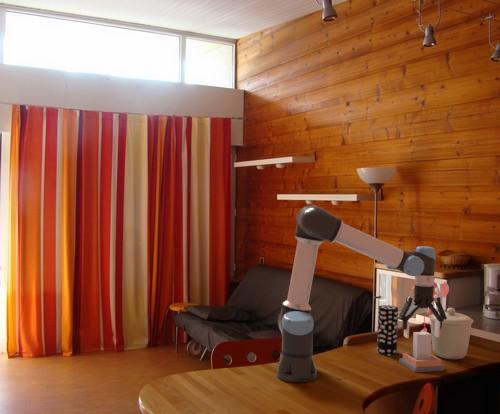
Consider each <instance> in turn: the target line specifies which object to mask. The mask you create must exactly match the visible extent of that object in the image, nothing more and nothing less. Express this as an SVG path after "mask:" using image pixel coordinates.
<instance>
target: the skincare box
mask: <svg viewBox="0 0 500 414" xmlns="http://www.w3.org/2000/svg"><path fill="white" fill-rule="evenodd" d="M412 337H413V339H412V341H413V342H412V352H413V358H414V359H416V360H431V354H432V351H431V350H432V336H431V332H430V333H429V332H428V331H427V332H421V331H416V332H415V331H413V334H412Z"/></svg>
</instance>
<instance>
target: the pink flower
mask: <svg viewBox="0 0 500 414" xmlns="http://www.w3.org/2000/svg"><path fill="white" fill-rule="evenodd" d="M432 286H433V287H434V294H433V297H435V296H438V297H440V298H441V297H442V298H446V297H447V295H448V294H449V292H450V287H449V284H448V283H446V282H445V281H444V282H443V283H442V284H441V286H440V293H441V294H439V293H437V292H436V291H435V289H436V288H438V283H437V282H436V281H435V277H434V285H432ZM410 290H411V291H412V290H414V286H413V287H412V288H411V289H410ZM432 314H433V313H432V312H431V310H430V309H429V308H428V310H427V313H425V314H424V315H423V322H424V323H423V329H421V330H420V332H428V328H427V327H426V315H428V317H429V316H430V315H432ZM432 351H433V349H431V352H432ZM433 352H434V351H433Z"/></svg>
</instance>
